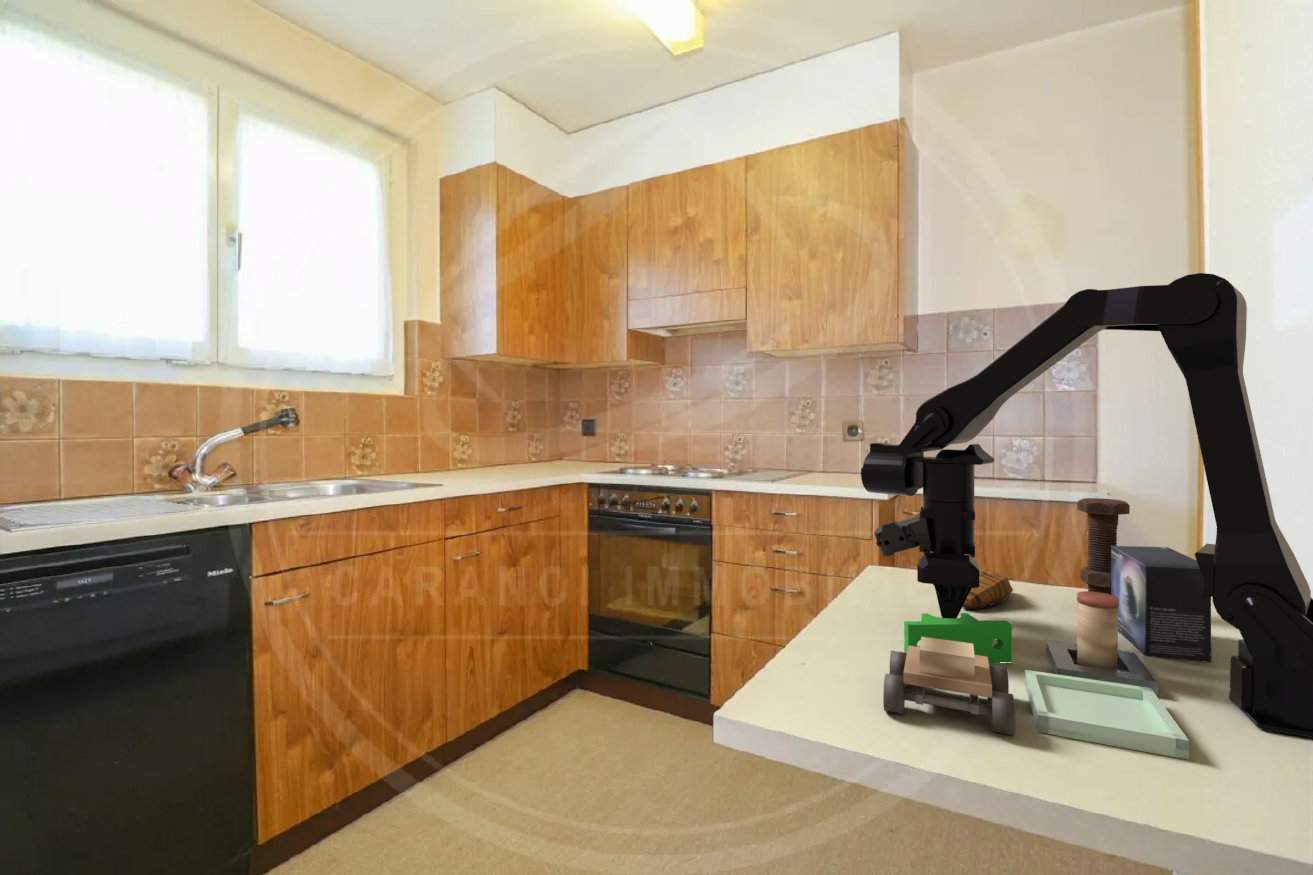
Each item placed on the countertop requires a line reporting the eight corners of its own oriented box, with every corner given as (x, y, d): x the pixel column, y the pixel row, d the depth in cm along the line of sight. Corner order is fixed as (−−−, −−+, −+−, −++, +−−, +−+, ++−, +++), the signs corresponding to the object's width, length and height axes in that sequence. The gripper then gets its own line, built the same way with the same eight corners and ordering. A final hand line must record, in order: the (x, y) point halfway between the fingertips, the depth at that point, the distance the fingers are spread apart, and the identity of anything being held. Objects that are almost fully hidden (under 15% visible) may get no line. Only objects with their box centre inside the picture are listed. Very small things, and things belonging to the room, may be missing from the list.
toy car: (1005, 695, 58) (1006, 634, 58) (1014, 741, 50) (1015, 671, 50) (892, 676, 63) (892, 620, 62) (883, 716, 54) (883, 651, 54)
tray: (1150, 703, 56) (1150, 688, 56) (1188, 759, 47) (1189, 740, 47) (1024, 684, 60) (1024, 669, 60) (1037, 731, 51) (1037, 714, 51)
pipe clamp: (993, 652, 69) (993, 612, 69) (1011, 665, 66) (1012, 623, 66) (894, 651, 70) (895, 612, 69) (907, 665, 66) (908, 623, 66)
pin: (1113, 669, 64) (1114, 593, 63) (1122, 683, 60) (1122, 602, 60) (1073, 664, 65) (1074, 589, 65) (1079, 677, 62) (1080, 598, 62)
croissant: (992, 618, 80) (992, 581, 80) (941, 606, 86) (941, 571, 85) (1028, 597, 89) (1028, 564, 89) (980, 588, 94) (980, 556, 94)
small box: (1106, 625, 77) (1107, 543, 77) (1168, 630, 75) (1170, 546, 74) (1141, 656, 67) (1142, 562, 67) (1214, 663, 65) (1216, 566, 64)
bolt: (1072, 608, 83) (1073, 500, 83) (1080, 600, 87) (1081, 496, 86) (1125, 618, 79) (1126, 504, 79) (1131, 609, 83) (1132, 500, 82)
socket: (1134, 665, 65) (1134, 652, 65) (1157, 696, 57) (1157, 682, 57) (1045, 653, 68) (1046, 641, 68) (1057, 681, 61) (1057, 668, 61)
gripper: (886, 488, 86) (886, 597, 87) (869, 506, 70) (870, 640, 70) (974, 491, 81) (974, 606, 82) (979, 512, 65) (979, 656, 65)
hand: (948, 625), depth 75 cm, fingers closed
